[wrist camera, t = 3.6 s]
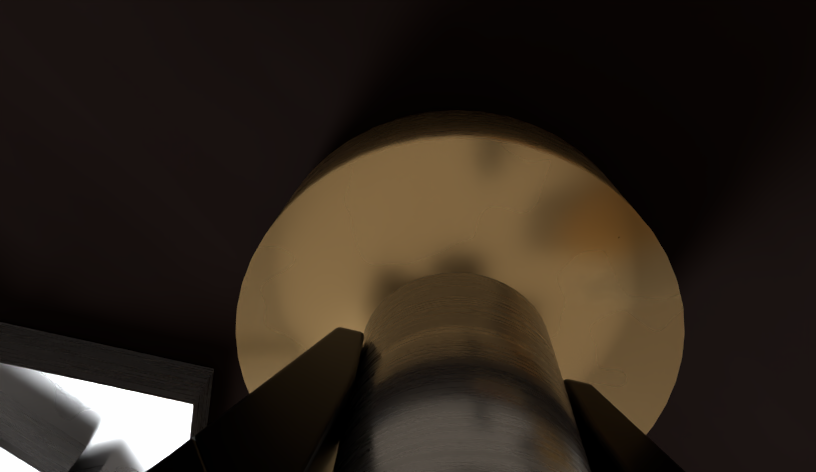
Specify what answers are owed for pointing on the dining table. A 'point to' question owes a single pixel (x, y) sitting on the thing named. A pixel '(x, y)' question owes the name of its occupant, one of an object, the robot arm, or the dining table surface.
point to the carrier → (93, 404)
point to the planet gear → (466, 295)
